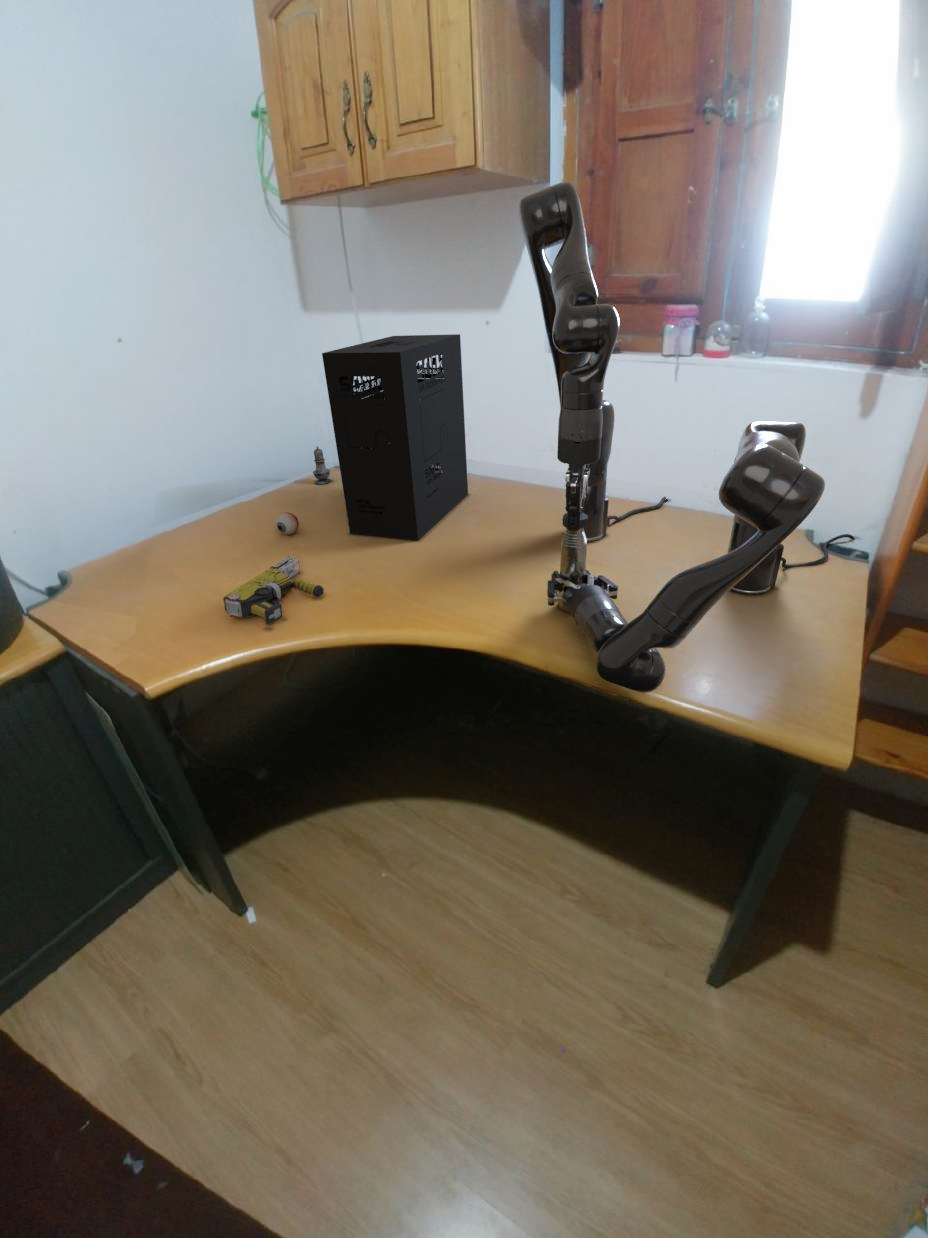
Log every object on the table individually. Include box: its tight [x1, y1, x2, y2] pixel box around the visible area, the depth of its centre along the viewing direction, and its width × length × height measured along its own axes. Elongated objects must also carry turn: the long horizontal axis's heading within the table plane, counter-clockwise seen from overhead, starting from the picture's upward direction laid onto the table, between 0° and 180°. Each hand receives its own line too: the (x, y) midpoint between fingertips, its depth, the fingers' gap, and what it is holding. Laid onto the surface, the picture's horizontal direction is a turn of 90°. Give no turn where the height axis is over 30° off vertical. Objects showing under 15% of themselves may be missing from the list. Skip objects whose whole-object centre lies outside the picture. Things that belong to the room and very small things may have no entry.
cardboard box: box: [321, 333, 469, 541], centre depth 164 cm, size 38×20×45 cm, turn 159°
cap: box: [562, 512, 588, 529], centre depth 113 cm, size 5×5×2 cm
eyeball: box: [275, 511, 300, 536], centre depth 163 cm, size 6×6×6 cm
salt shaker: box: [312, 446, 332, 485], centre depth 203 cm, size 6×6×12 cm
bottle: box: [558, 527, 588, 612], centre depth 118 cm, size 5×5×19 cm
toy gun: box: [222, 556, 324, 626], centre depth 131 cm, size 5×24×15 cm
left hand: (574, 524), depth 114 cm, fingers closed on cap, 4 cm apart
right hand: (568, 573), depth 122 cm, fingers closed on bottle, 5 cm apart
